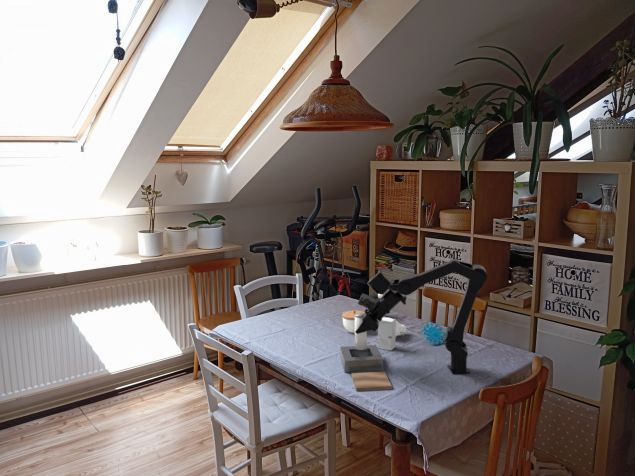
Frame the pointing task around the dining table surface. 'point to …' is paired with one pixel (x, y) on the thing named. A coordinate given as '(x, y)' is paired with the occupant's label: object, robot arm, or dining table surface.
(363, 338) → the dome-capped cylinder
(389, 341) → the skincare box
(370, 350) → the collar
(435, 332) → the blue fuzzy rounded lump
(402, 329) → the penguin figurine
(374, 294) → the medicine bottle
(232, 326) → the dining table surface
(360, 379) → the pad
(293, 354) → the dining table surface
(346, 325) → the lidded jar
